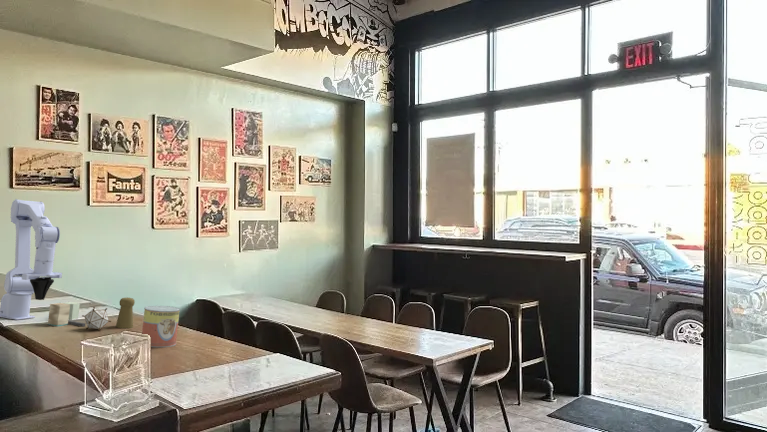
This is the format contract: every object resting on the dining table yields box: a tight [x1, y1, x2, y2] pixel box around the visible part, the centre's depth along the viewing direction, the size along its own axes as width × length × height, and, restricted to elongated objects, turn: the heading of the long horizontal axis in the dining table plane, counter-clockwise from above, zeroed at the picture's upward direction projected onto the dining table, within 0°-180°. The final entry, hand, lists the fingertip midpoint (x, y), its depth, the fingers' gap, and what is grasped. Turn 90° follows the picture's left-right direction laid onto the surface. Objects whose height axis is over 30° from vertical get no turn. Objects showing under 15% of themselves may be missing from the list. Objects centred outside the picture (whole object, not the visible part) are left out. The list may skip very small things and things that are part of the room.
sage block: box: [63, 301, 81, 321], centre depth 218 cm, size 4×4×6 cm
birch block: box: [47, 302, 70, 327], centre depth 205 cm, size 4×4×8 cm
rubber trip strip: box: [68, 320, 86, 327], centre depth 208 cm, size 16×1×1 cm, turn 74°
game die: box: [82, 306, 112, 332], centre depth 202 cm, size 9×8×10 cm
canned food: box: [141, 305, 181, 348], centre depth 190 cm, size 11×11×12 cm
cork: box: [115, 297, 136, 329], centre depth 212 cm, size 6×6×11 cm
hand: (39, 299), depth 196 cm, fingers closed
